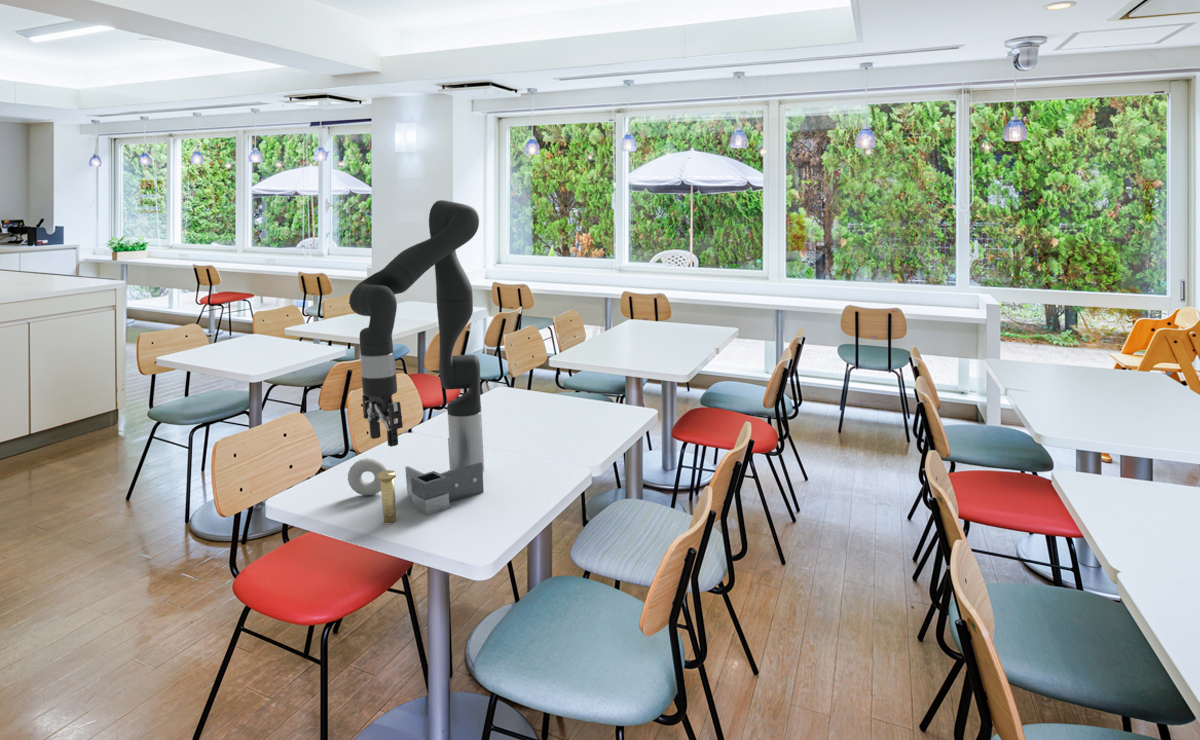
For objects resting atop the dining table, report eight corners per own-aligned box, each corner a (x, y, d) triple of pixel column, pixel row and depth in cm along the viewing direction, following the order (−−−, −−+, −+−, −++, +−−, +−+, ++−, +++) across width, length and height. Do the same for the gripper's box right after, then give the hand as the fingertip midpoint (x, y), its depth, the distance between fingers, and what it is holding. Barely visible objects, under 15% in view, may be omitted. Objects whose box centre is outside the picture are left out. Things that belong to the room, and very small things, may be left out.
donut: (348, 499, 184) (344, 462, 182) (350, 494, 187) (347, 457, 185) (388, 496, 185) (385, 459, 183) (390, 491, 189) (387, 455, 187)
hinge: (397, 499, 183) (395, 469, 181) (459, 480, 195) (457, 452, 194) (426, 515, 173) (424, 484, 171) (489, 494, 185) (488, 465, 183)
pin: (378, 521, 170) (374, 473, 168) (393, 516, 173) (390, 469, 170) (386, 526, 167) (382, 477, 165) (402, 521, 170) (398, 473, 167)
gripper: (409, 375, 160) (414, 444, 163) (379, 366, 170) (384, 432, 173) (377, 380, 155) (383, 452, 158) (349, 371, 165) (355, 438, 168)
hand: (384, 441), depth 166 cm, fingers open, 8 cm apart
